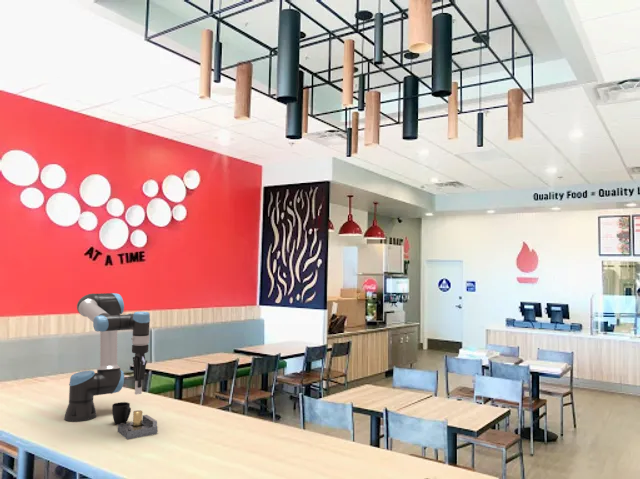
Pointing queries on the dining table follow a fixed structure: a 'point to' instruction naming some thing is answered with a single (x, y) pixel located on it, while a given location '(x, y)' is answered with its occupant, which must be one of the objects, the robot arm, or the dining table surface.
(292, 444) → the dining table surface
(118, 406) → the mug
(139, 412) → the brass cylinder
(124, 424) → the jig
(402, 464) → the dining table surface
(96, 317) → the robot arm
